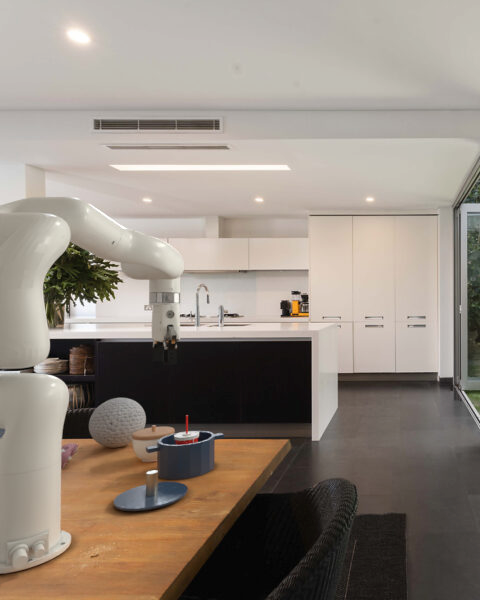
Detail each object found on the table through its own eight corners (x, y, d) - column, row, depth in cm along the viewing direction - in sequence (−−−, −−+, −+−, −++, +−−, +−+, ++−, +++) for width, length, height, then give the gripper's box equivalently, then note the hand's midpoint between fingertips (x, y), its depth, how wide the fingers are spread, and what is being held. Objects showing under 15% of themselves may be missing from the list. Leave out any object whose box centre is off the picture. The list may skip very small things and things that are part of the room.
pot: (232, 467, 121) (232, 436, 121) (154, 487, 108) (154, 451, 108) (213, 455, 131) (213, 426, 131) (139, 471, 118) (140, 439, 118)
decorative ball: (139, 436, 150) (139, 391, 150) (151, 446, 139) (151, 398, 139) (85, 446, 140) (85, 397, 140) (92, 457, 129) (93, 405, 129)
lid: (196, 499, 101) (196, 472, 101) (121, 520, 91) (121, 490, 91) (176, 481, 112) (176, 456, 112) (107, 498, 102) (107, 471, 102)
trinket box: (182, 453, 133) (182, 421, 133) (158, 465, 122) (159, 431, 123) (148, 451, 134) (148, 420, 134) (122, 464, 124) (122, 430, 124)
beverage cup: (190, 462, 124) (190, 411, 124) (204, 466, 120) (204, 414, 121) (168, 469, 118) (169, 416, 118) (182, 473, 115) (183, 419, 115)
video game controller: (58, 478, 118) (73, 452, 119) (39, 472, 116) (54, 446, 117) (70, 465, 127) (84, 442, 128) (53, 460, 125) (67, 436, 127)
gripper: (190, 299, 118) (189, 364, 118) (170, 300, 131) (169, 359, 130) (158, 299, 113) (158, 367, 113) (141, 300, 126) (140, 361, 125)
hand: (164, 362), depth 121 cm, fingers open, 9 cm apart
